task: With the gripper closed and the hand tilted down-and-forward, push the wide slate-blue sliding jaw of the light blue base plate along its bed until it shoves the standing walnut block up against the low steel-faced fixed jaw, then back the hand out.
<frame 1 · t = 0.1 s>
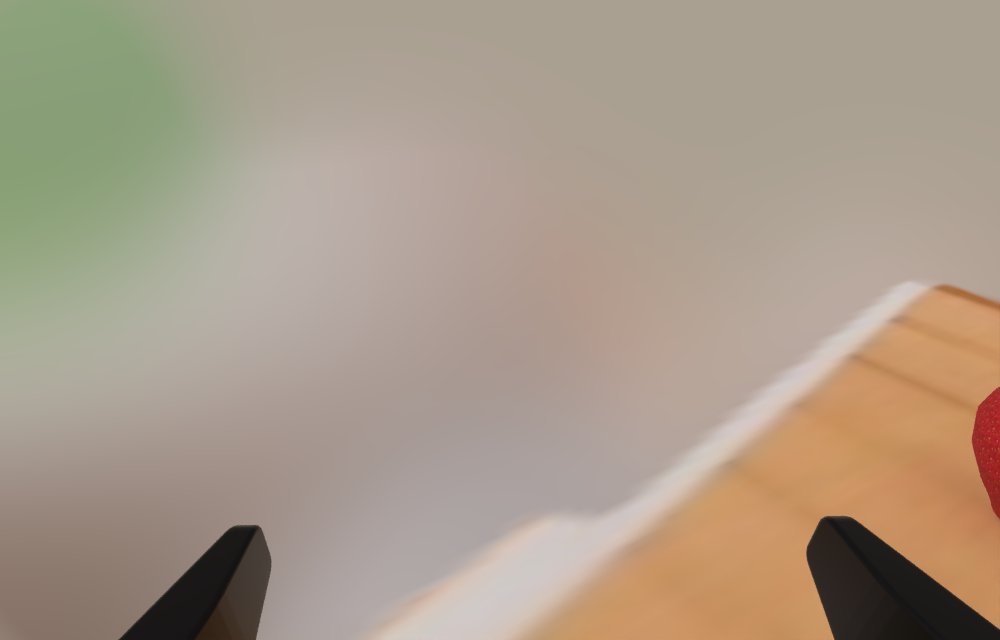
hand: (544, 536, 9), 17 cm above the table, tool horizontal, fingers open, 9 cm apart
strawberry: (999, 521, 30), on the table
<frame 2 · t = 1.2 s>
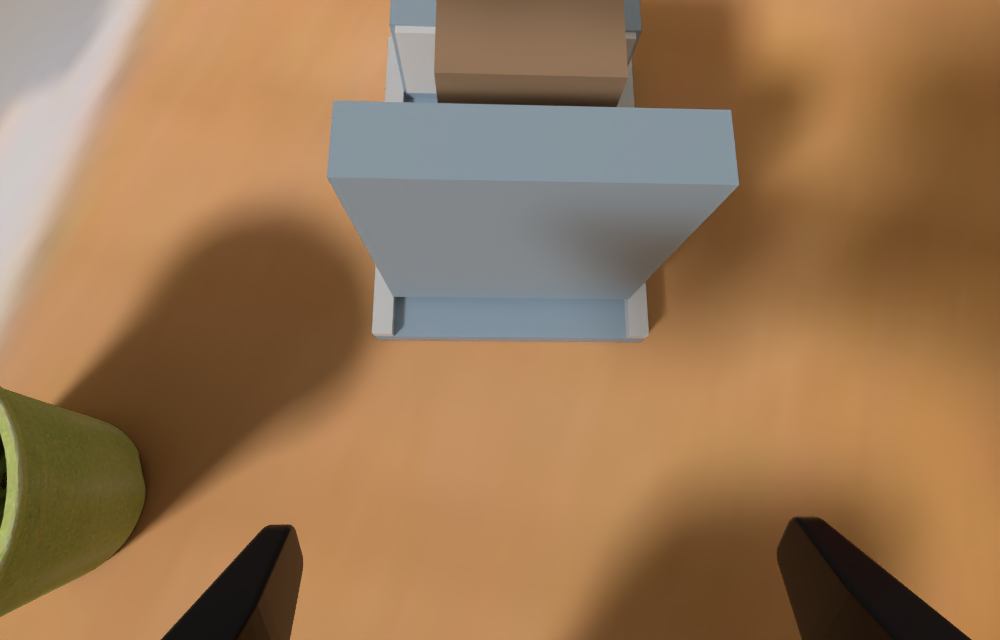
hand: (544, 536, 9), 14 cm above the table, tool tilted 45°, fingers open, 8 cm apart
plant pot: (73, 493, 22), on the table
block: (510, 186, 24), point 1 cm above the table, touching light blue base plate
light blue base plate: (509, 190, 25), on the table
fixed jaw: (509, 92, 26), resting on light blue base plate
jaw: (520, 222, 18), point 6 cm above the table, slide at 0.0 cm
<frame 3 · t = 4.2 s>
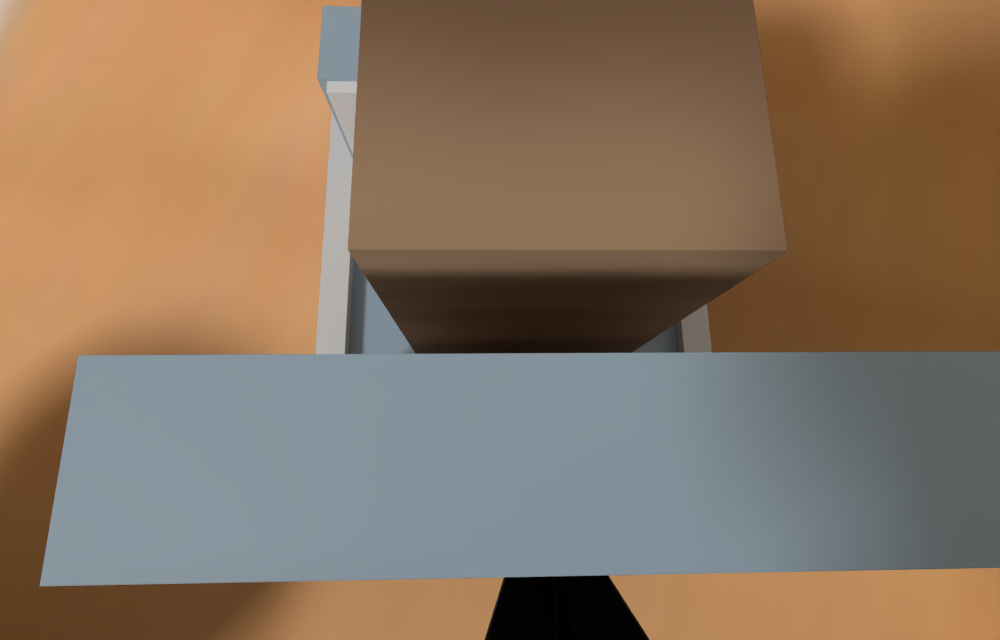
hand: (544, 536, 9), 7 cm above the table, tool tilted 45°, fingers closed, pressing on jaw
block: (514, 306, 16), point 1 cm above the table, touching light blue base plate
light blue base plate: (512, 306, 17), on the table
fixed jaw: (510, 158, 18), resting on light blue base plate
jaw: (537, 447, 10), point 6 cm above the table, slide at 0.0 cm, touching gripper
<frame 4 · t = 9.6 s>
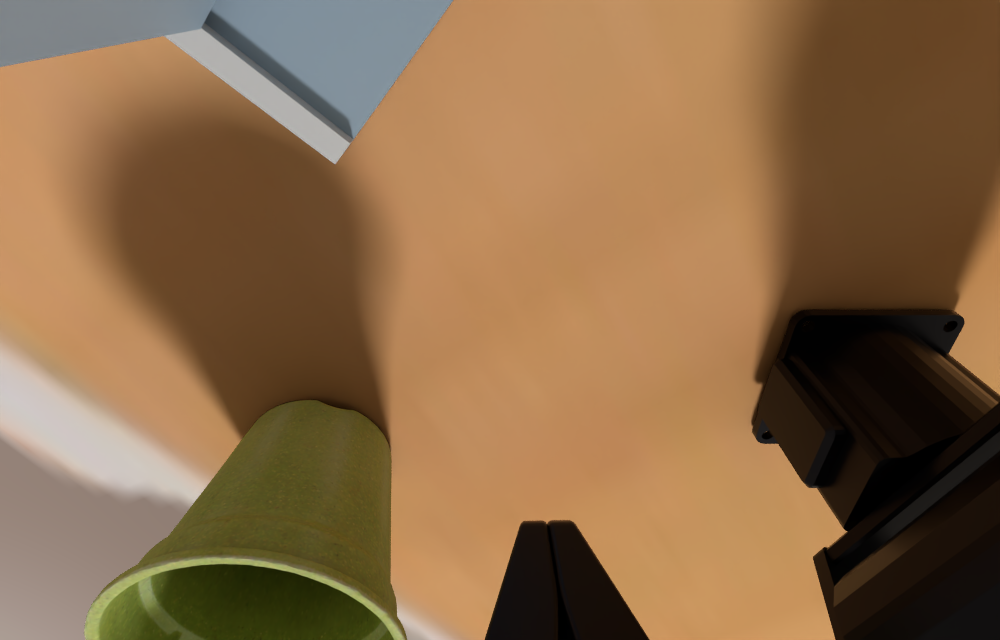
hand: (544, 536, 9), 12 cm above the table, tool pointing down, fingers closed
plant pot: (321, 446, 24), on the table
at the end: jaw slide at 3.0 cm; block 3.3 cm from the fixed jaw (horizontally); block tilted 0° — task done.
